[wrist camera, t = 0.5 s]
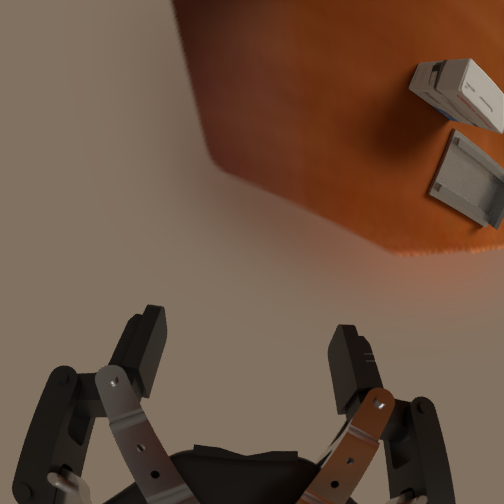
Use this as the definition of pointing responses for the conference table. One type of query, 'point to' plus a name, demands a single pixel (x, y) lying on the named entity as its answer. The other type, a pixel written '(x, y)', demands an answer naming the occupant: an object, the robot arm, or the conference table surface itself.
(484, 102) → the ink box
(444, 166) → the grey plastic tray
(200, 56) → the conference table surface
